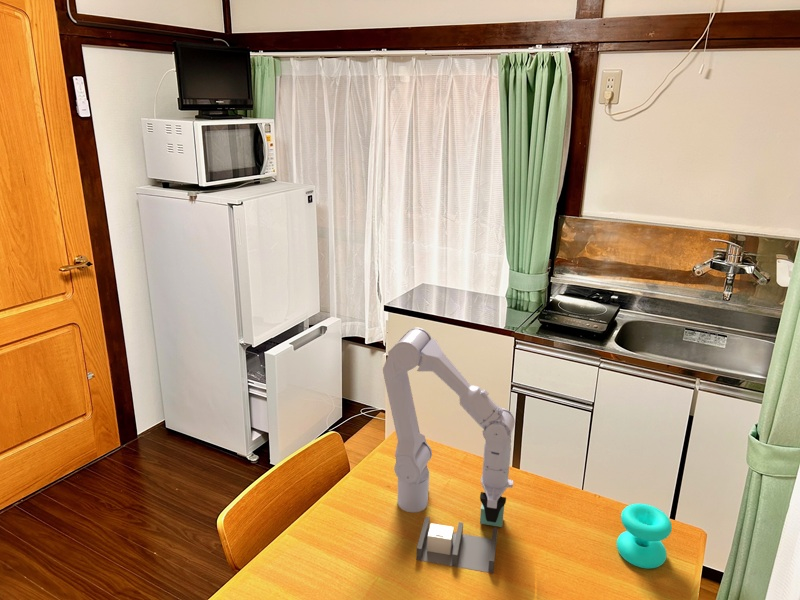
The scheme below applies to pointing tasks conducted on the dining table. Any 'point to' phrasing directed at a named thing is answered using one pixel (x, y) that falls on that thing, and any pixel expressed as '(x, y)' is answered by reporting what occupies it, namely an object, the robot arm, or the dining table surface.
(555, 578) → the dining table surface
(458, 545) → the gray shelf unit
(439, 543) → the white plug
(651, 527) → the turquoise spool
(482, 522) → the teal box
